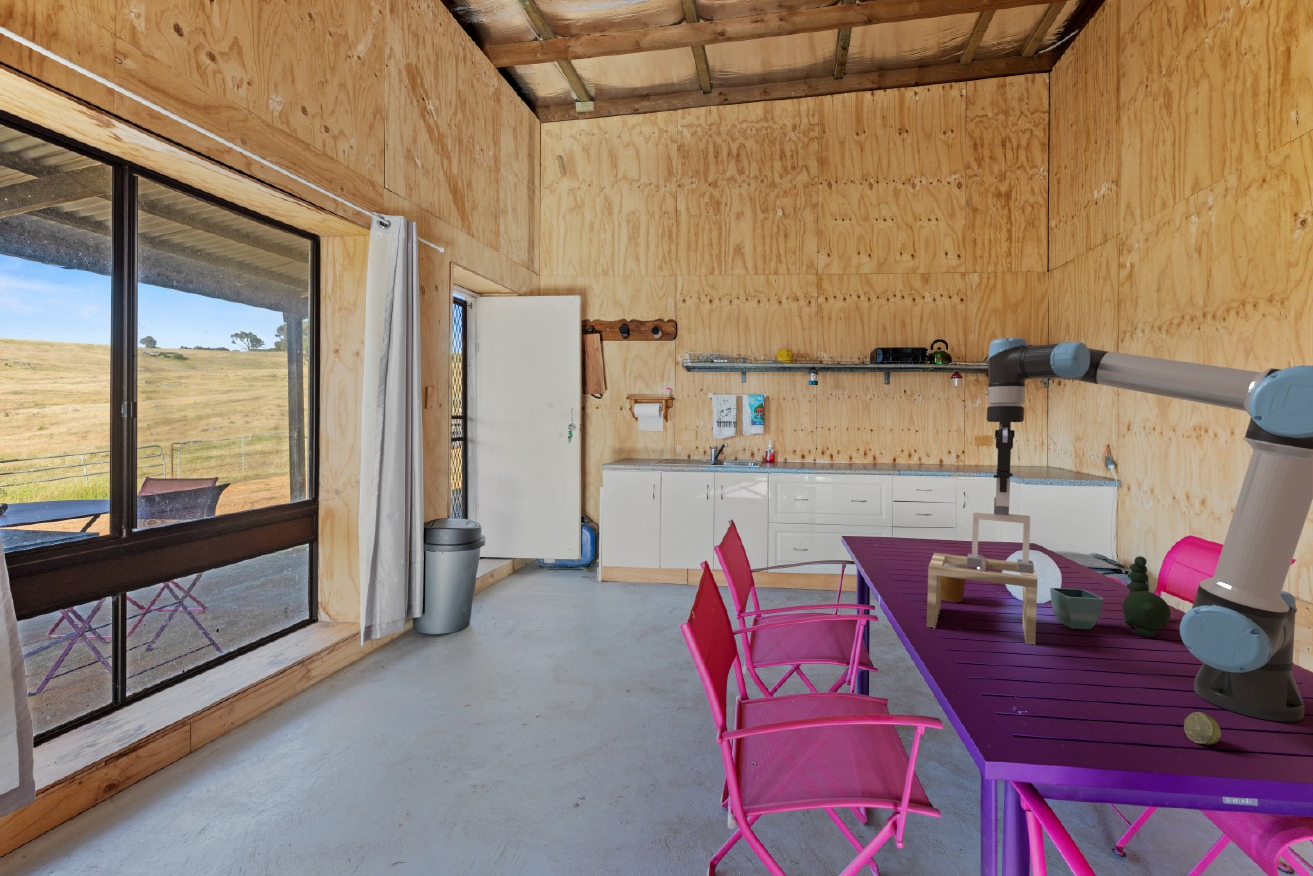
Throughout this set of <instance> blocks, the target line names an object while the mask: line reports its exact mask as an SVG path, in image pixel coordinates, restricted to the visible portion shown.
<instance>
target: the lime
mask: <svg viewBox="0 0 1313 876" xmlns="http://www.w3.org/2000/svg"><path fill="white" fill-rule="evenodd" d="M1183 730H1184V732H1185V734H1186V736H1187V738H1188V739H1189V740H1190V741H1191V742H1194V744H1195V743H1196V744H1200V745H1213V744H1216V743H1218V741H1220V739H1221V737H1222V730H1221V728H1220V725H1219V723H1218V722H1217V721H1216V720H1215V718H1213V717H1212V716H1210V715H1209V714H1207V713H1206V712H1202V711H1196V712H1191V713H1189V715H1187V717H1185V719H1184V724H1183Z"/></svg>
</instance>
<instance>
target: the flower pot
mask: <svg viewBox="0 0 1313 876" xmlns="http://www.w3.org/2000/svg"><path fill="white" fill-rule="evenodd" d="M1049 591H1050V601H1051V608H1052V611H1053V613H1054V616H1055V617H1056V619H1057V620H1058V621H1059V623H1061V624H1062V625H1064V626H1066V627H1067V628H1069V629H1073V630H1075V629H1076V630H1091V629H1092V628H1093V627H1094V626H1095V625H1097V622H1098V621H1099V619H1100V617H1101V614H1102V608H1103V604H1104V598H1103V597H1101V596H1099V595H1096V594H1095V593H1092V592H1090V591H1088V590H1085V589H1082V588H1067V587H1066V588H1065V587H1049Z"/></svg>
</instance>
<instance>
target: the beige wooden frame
mask: <svg viewBox="0 0 1313 876" xmlns="http://www.w3.org/2000/svg"><path fill="white" fill-rule="evenodd" d="M967 557H968V555H967V556H965V555H957V554H956V555H955V554H949V553H939V552H937V553H936V552H934V553H933V555H932V557H931V560H930V562H929V564H928V569H927V601H926V602H927V605H926V606H927V607H926V610H927V611H926V627H927V628H930V627H933V628H932V629H936V627H937V623H938V620H937V619H939V616H938V615H940V612H939V611H941V604H942V603H941V601H942V600H941V576H946V577H954V578H962V579H966V580H972V581H978V582H988V583H996V584H1001V585H1002V584H1004V585H1011V586H1018V587H1022V590H1023V591H1022V611H1021V612H1022V614H1021V616H1022V617H1021V618H1022V619H1021V623H1023V624H1022V630H1023V635H1024V636H1025V637H1024V636H1023V637H1024V643H1025V644H1026V643H1027V644H1026V645H1030V644H1034V645H1033V646H1036V632H1037V609H1038V608H1037V605H1038V602H1037V601H1038V581H1039V579H1038V577H1037V574H1036V573H1037V572H1036V569H1035V568H1034V571H1033V574H1029V573H1021V572H1018V570H1017V561H1011V560H1010V561H1009V560H1002V559H1001V560H1000V559H993V558H986V557H985V556H983V555H982V565H981V568H979V567H976V569H973V568H968V569H966V568H958V567H949V566H944V564H945V563H946V564H955V565H963V566H967ZM986 569H992V570H997V571H990V570H986ZM998 570H999V571H1007V572H1014V573H1015V572H1016V573H1019V574H1014V573H1007V572H998Z"/></svg>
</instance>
